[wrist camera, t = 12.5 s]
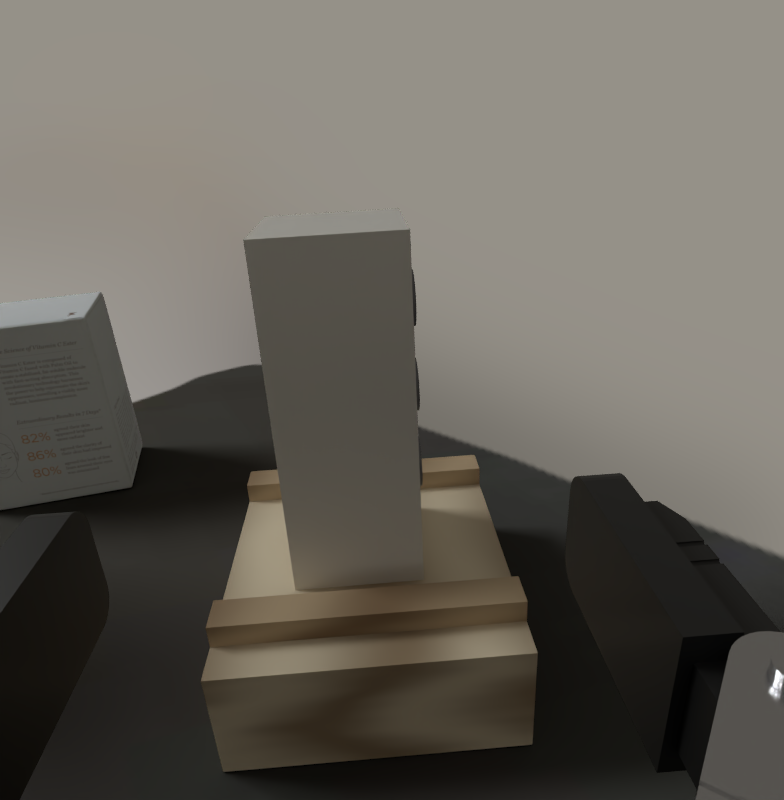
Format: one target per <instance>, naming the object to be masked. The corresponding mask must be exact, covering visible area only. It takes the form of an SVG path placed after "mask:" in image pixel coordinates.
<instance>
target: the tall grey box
mask: <svg viewBox="0 0 784 800" xmlns="http://www.w3.org/2000/svg"><path fill="white" fill-rule="evenodd" d="M244 247H245V254H246V261H247V268H248V274H249V281H250V288H251V295H252V301H253V308H254V314H255V322H256V328H257V335H258V342H259V349H260V355H261V362H262V369H263V376H264V382H265V389H266V396H267V403H268V409H269V416H270V423H271V430H272V437H273V443H274V450H275V457H276V464H277V470H278V477H279V484H280V491H281V497H282V504H283V511H284V518H285V524H286V531H287V538H288V545H289V551H290V558H291V565H292V572H293V578H294V585H295V590H304V589H317V588H329V587H341V586H354V585H366V584H379V583H391V582H403V581H416V580H424V567H423V542H422V517H421V492H420V486H422V484H423V473H422V458H421V448H420V441H419V436H418V417H417V410H419V407H420V395H419V379H418V369H417V362H416V358H415V344H414V343H415V342H414V326H415V325H416V295H415V294H416V293H415V282H414V274H413V270H412V267H411V242H410V228H409V227H408V225H407V223H406V221H405V219H404V217H403V215H402V213H401V211H400V209H399V208H395V209H378V210H363V211H346V212H331V213H315V214H299V215H282V216H266V217H264V218H263V219H262V220H261V222H259V223H258V225H257V226H256V227H255V228H254V229H253V230H252V231H251V232H250V233H249V234H248V235H247V237H246V238H245V239H244Z"/></svg>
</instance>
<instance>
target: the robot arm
mask: <svg viewBox="0 0 784 800" xmlns="http://www.w3.org/2000/svg"><path fill="white" fill-rule="evenodd" d="M565 563H566V571H567V576H568V581H569V584H570V587H571V590H572V592H573V594H574V597H575V599H576V601H577V603H578V605H579V607H580V609H581V612H582V614H583V616H584V618H585V620H586V622H587V624H588V626H589V629H590V631H591V633H592V635H593V637H594V639H595V641H596V644H597V646H598V648H599V650H600V652H601V654H602V656H603V659H604V661H605V663H606V665H607V667H608V669H609V671H610V673H611V676H612V678H613V680H614V682H615V684H616V686H617V688H618V691H619V693H620V695H621V697H622V699H623V701H624V703H625V706H626V708H627V710H628V712H629V714H630V716H631V718H632V720H633V723H634V725H635V727H636V729H637V731H638V733H639V735H640V738H641V740H642V742H643V744H644V746H645V748H646V750H647V753H648V755H649V757H650V759H651V761H652V763H653V765H654V767H655V770H656V772H657V773H660V772H671V771H682V770H687V772H688V774H689V776H690V777H691V779H692V781H693V783H694V785H695V787H696V789H697V791H696V796H695V800H784V633H782V632H780V631H779V630H778V628H777V627H776V626H775V625H774V624H773V622H772V621H771V620H770V619H769V618H768V616H767V615H766V614H765V613H764V612H763V610H762V609H761V608H760V607H759V606H758V604H757V603H756V602H755V601H754V600H753V599H752V597H751V596H750V595H749V594H748V593H747V591H746V590H745V589H744V588H743V587H742V585H741V584H740V583H739V582H738V581H737V579H736V578H735V577H734V576H733V575H732V573H731V572H730V571H729V570H728V569H727V568H726V566H725V565H724V564H720V562H719V558H718V557H717V556H716V554H715V553H714V552H713V551H712V550H711V548H710V547H709V546H708V545H704V540H703V539H702V538H701V536H700V535H699V534H698V533H697V532H696V531H695V529H694V528H693V527H692V526H691V525H690V523H689V522H688V521H687V520H686V519H685V518H684V517H682V516H681V515H679V514H677V513H676V512H674V511H673V510H671V509H669V508H668V507H666V506H665V505H663V504H661V503H660V502H658V501H649V502H644V501H643V499H642V498H641V497H640V496H639V494H638V493H637V492H636V490H635V489H634V488H633V486H632V485H631V484H630V483H629V481H628V480H627V479H626V477H625V476H624V475H622V474H620V473H617V474H604V475H590V476H577V477H575V478H574V479H573V480H572V483H571V489H570V499H569V512H568V524H567V536H566V548H565ZM108 609H109V591H108V586H107V582H106V579H105V575H104V572H103V569H102V565H101V562H100V559H99V555H98V552H97V549H96V545H95V542H94V538H93V535H92V532H91V528H90V525H89V522H88V520H87V518H86V517H85V515H84V514H83V513H81V512H63V513H50V514H36V515H30V516H28V517H26V518H25V519H24V520H23V521H22V522H21V523H20V525H19V526H18V527H17V528H16V530H15V531H14V532H13V533H12V534H11V536H10V537H9V538H8V539H7V540H6V542H5V543H4V544H3V545H2V547H1V548H0V800H20V798H21V796H22V794H23V791H24V789H25V787H26V785H27V783H28V781H29V779H30V777H31V775H32V773H33V771H34V769H35V767H36V765H37V763H38V761H39V759H40V757H41V755H42V753H43V751H44V749H45V746H46V744H47V742H48V740H49V738H50V736H51V734H52V732H53V730H54V728H55V726H56V724H57V722H58V720H59V718H60V716H61V714H62V712H63V710H64V708H65V706H66V703H67V701H68V699H69V697H70V695H71V693H72V691H73V689H74V687H75V685H76V683H77V681H78V679H79V677H80V675H81V673H82V671H83V669H84V667H85V665H86V663H87V661H88V658H89V656H90V654H91V652H92V650H93V648H94V646H95V644H96V642H97V640H98V638H99V636H100V634H101V632H102V630H103V628H104V625H105V623H106V620H107V615H108Z"/></svg>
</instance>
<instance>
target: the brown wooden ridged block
mask: <svg viewBox="0 0 784 800" xmlns="http://www.w3.org/2000/svg"><path fill="white" fill-rule="evenodd" d="M422 473H423V484H422V486H420V492H421V517H422V542H423V567H424V580H416V581H403V582H391V583H379V584H366V585H354V586H341V587H329V588H317V589H304V590H295V585H294V578H293V572H292V565H291V558H290V551H289V545H288V538H287V531H286V524H285V518H284V511H283V504H282V497H281V491H280V484H279V477H278V470H265V471H252V472H251V474H250V477H249V481H248V484H247V489H248V494H249V500H250V503H249V506H248V510H247V514H246V517H245V521H244V525H243V528H242V532H241V536H240V539H239V543H238V547H237V550H236V554H235V558H234V561H233V565H232V569H231V572H230V576H229V580H228V583H227V587H226V591H225V594H224V598H223V600H215V601H213V604H212V608H211V611H210V615H209V618H208V621H207V625H206V632H207V636H208V640H209V645H210V650H209V653H208V657H207V661H206V664H205V668H204V672H203V675H202V679H201V684H202V688H203V692H204V696H205V700H206V704H207V709H208V713H209V717H210V721H211V725H212V729H213V733H214V737H215V741H216V745H217V749H218V753H219V757H220V761H221V766H222V770H223V772H229V771H241V770H252V769H263V768H275V767H286V766H297V765H308V764H320V763H331V762H342V761H354V760H365V759H376V758H387V757H399V756H410V755H421V754H433V753H444V752H455V751H466V750H478V749H489V748H500V747H512V746H523V745H532V744H533V727H534V710H535V692H536V675H537V658H538V652H537V649H536V646H535V644H534V641H533V638H532V635H531V632H530V629H529V626H528V623H527V605H528V601H527V598H526V596H525V593H524V590H523V587H522V585H521V582H520V579H519V576H513V577H511V574H510V571H509V569H508V566H507V563H506V560H505V557H504V554H503V551H502V548H501V546H500V543H499V540H498V537H497V534H496V531H495V528H494V525H493V522H492V520H491V517H490V514H489V511H488V508H487V505H486V502H485V499H484V497H483V494H482V491H481V488H480V485H479V466H478V463H477V461H476V458H475V455H467V456H453V457H440V458H426V459H422Z"/></svg>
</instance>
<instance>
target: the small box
mask: <svg viewBox="0 0 784 800" xmlns="http://www.w3.org/2000/svg"><path fill="white" fill-rule="evenodd" d="M141 448H142V439H141V435H140V432H139V428H138V424H137V420H136V416H135V413H134V409H133V405H132V401H131V398H130V394H129V390H128V387H127V383H126V379H125V375H124V372H123V368H122V364H121V361H120V357H119V353H118V349H117V346H116V342H115V338H114V334H113V330H112V326H111V323H110V319H109V315H108V312H107V308H106V304H105V301H104V297H103V295H102V293H101V292H94V293H86V294H78V295H69V296H59V297H50V298H42V299H34V300H24V301H16V302H7V303H0V510H5V509H11V508H17V507H23V506H29V505H34V504H40V503H46V502H51V501H57V500H63V499H68V498H74V497H80V496H86V495H91V494H97V493H103V492H109V491H114V490H120V489H125V488H131V487H132V485H133V481H134V477H135V473H136V469H137V464H138V460H139V456H140V452H141Z"/></svg>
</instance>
